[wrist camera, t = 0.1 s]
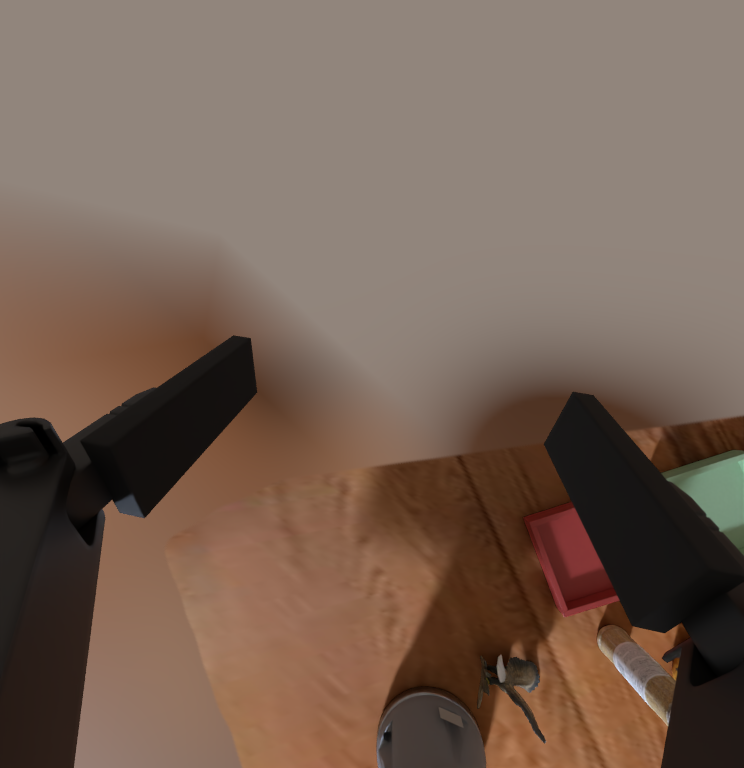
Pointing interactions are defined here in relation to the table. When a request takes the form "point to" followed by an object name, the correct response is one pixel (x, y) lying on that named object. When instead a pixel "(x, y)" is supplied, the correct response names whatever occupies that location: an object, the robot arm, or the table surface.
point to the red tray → (569, 560)
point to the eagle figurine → (512, 683)
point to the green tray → (717, 490)
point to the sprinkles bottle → (638, 669)
